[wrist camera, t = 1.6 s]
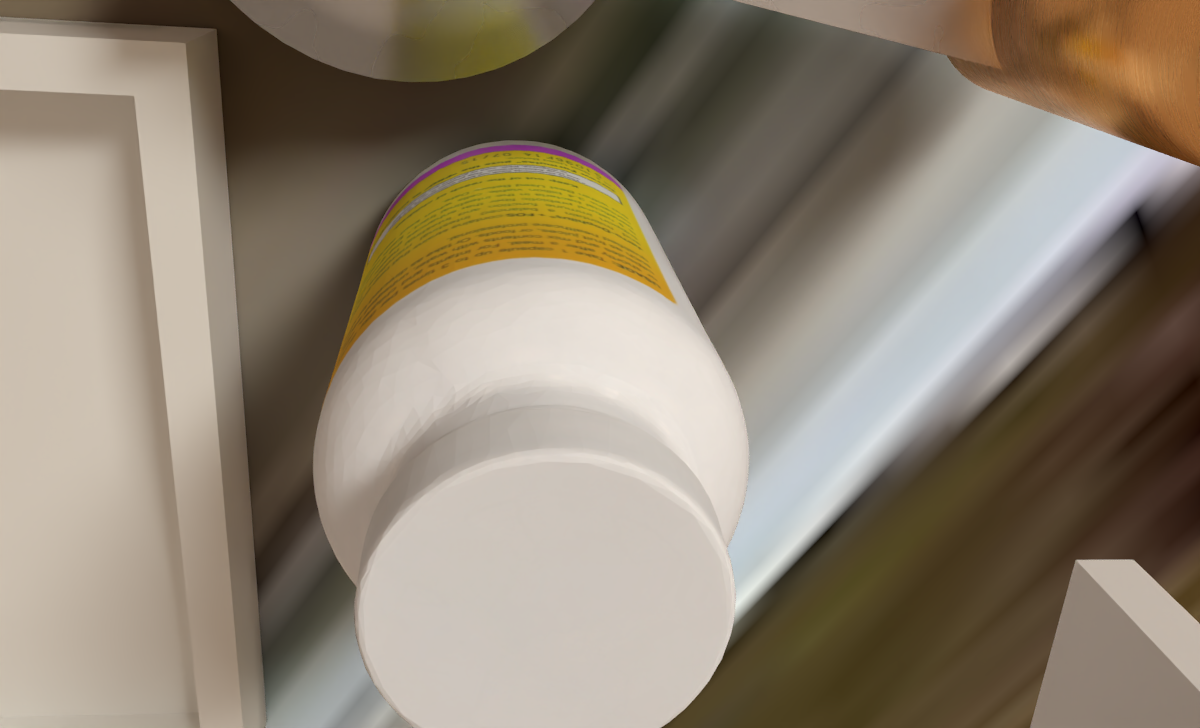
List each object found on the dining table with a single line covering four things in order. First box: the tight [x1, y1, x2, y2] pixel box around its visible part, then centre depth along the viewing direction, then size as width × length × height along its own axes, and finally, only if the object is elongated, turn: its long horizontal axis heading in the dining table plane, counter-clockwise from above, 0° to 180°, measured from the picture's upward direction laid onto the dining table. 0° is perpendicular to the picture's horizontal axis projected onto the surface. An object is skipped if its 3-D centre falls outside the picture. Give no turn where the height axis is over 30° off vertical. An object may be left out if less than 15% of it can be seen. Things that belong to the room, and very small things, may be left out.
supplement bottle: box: [313, 140, 749, 728], centre depth 19 cm, size 7×7×13 cm
